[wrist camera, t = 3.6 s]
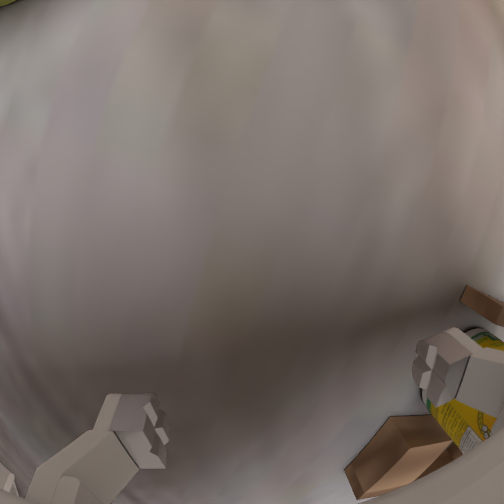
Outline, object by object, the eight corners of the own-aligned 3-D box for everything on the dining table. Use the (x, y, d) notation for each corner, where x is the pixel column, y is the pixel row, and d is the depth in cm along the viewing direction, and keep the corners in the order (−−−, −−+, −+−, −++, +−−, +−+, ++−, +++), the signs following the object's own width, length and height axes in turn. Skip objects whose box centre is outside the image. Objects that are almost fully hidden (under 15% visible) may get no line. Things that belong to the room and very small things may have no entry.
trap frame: (497, 436, 18) (508, 449, 16) (344, 470, 14) (356, 499, 11) (561, 333, 15) (576, 343, 13) (466, 285, 11) (502, 306, 9)
